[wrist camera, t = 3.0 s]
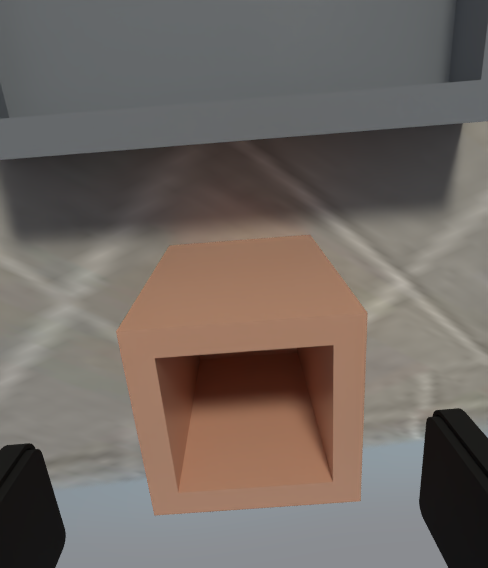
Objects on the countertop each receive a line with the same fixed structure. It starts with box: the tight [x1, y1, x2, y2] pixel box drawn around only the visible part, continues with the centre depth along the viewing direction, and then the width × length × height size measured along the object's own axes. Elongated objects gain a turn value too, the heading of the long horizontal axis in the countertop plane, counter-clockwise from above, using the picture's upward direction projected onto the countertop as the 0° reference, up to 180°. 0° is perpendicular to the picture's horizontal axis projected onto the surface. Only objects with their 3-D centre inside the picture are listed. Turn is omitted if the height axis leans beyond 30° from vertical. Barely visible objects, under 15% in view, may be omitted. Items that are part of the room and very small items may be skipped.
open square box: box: [116, 235, 367, 515], centre depth 14 cm, size 6×6×8 cm
